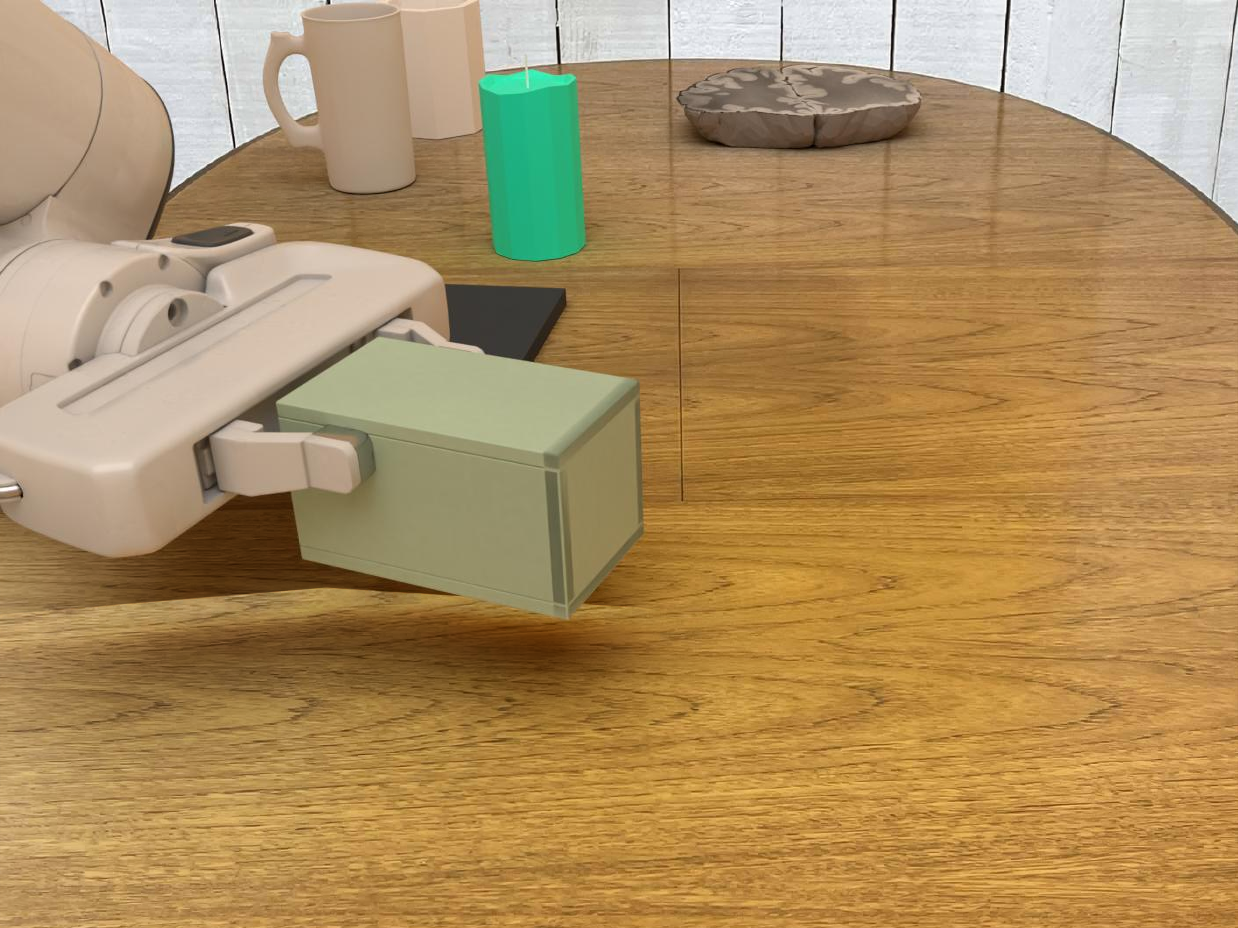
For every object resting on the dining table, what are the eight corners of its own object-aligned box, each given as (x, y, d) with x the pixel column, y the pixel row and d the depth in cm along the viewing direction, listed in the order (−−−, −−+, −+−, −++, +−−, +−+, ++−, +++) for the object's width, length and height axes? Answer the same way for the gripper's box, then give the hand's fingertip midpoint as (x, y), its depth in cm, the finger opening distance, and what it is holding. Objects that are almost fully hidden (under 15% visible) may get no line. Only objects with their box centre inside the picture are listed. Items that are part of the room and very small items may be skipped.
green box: (301, 559, 53) (274, 401, 49) (396, 483, 58) (378, 335, 54) (568, 621, 49) (557, 455, 46) (644, 533, 54) (640, 379, 51)
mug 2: (492, 111, 122) (482, -10, 117) (486, 138, 115) (475, 10, 110) (351, 115, 121) (334, -6, 117) (336, 142, 114) (317, 14, 109)
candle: (602, 249, 91) (592, 56, 85) (516, 267, 89) (500, 69, 82) (560, 224, 96) (548, 39, 90) (478, 240, 93) (460, 51, 87)
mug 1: (419, 166, 108) (401, 0, 102) (420, 192, 102) (400, 17, 96) (283, 174, 107) (256, 6, 100) (276, 201, 101) (246, 25, 95)
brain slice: (883, 95, 125) (885, 60, 124) (937, 147, 111) (940, 108, 109) (662, 105, 123) (661, 70, 122) (687, 160, 109) (687, 120, 107)
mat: (185, 409, 71) (181, 391, 71) (304, 294, 85) (301, 278, 84) (496, 424, 69) (494, 406, 69) (566, 304, 83) (565, 287, 83)
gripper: (-126, 391, 46) (223, 463, 41) (268, 209, 62) (549, 246, 58) (-71, 558, 49) (258, 642, 45) (290, 342, 66) (558, 388, 61)
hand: (425, 417), depth 51 cm, fingers closed on green box, 6 cm apart
